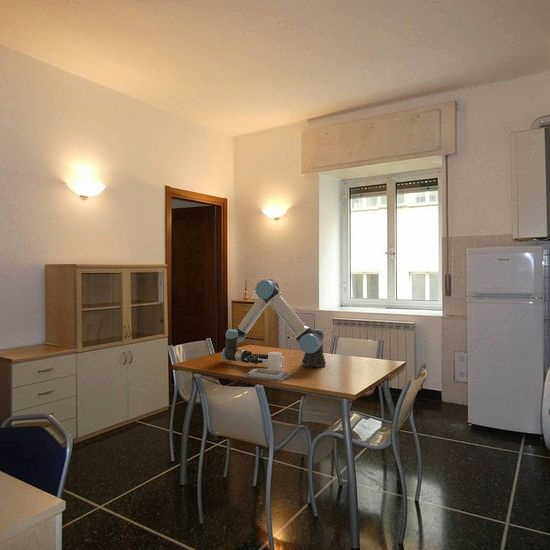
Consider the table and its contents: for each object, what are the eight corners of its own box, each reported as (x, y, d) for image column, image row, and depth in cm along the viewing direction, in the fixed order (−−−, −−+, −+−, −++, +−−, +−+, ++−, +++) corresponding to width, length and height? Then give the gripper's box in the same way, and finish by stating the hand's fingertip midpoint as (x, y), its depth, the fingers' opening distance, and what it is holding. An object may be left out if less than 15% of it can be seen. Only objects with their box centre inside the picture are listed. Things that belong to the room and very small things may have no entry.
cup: (274, 368, 273) (274, 351, 272) (289, 371, 265) (289, 354, 264) (264, 370, 266) (265, 353, 266) (280, 373, 258) (280, 355, 258)
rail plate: (292, 374, 255) (292, 370, 255) (281, 382, 238) (282, 377, 238) (253, 370, 263) (253, 366, 263) (241, 377, 246) (241, 373, 246)
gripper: (254, 359, 288) (283, 363, 277) (232, 365, 266) (262, 370, 256) (255, 347, 288) (283, 351, 277) (232, 353, 266) (262, 357, 256)
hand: (273, 360), depth 266 cm, fingers open, 13 cm apart
